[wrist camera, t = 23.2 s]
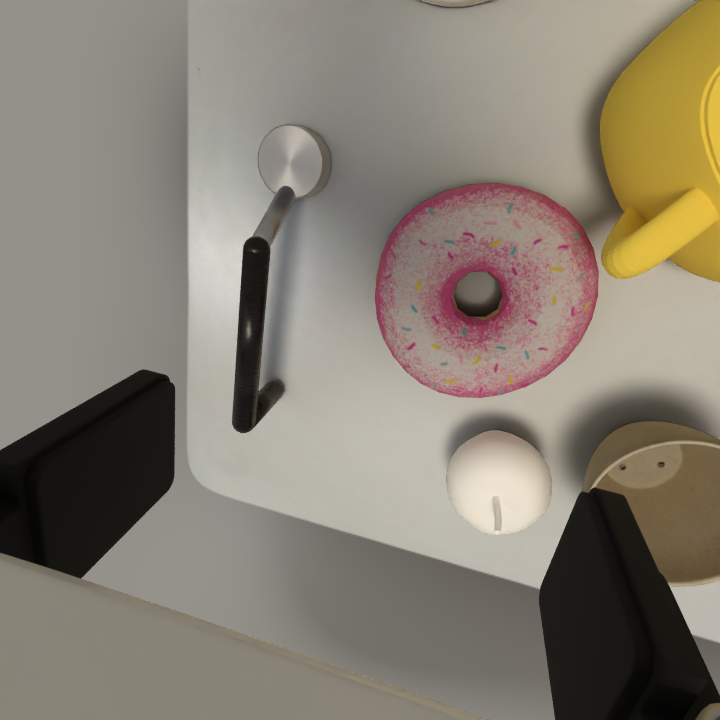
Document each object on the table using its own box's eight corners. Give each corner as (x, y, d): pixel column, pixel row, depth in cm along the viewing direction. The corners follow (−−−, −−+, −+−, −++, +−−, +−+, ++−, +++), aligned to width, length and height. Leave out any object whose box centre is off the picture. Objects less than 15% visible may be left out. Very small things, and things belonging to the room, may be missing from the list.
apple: (440, 480, 39) (431, 551, 31) (461, 402, 36) (456, 460, 29) (529, 504, 37) (540, 583, 30) (557, 426, 35) (578, 492, 27)
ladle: (272, 122, 32) (222, 109, 26) (335, 133, 31) (300, 122, 25) (251, 389, 40) (208, 428, 33) (301, 402, 39) (267, 445, 33)
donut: (572, 153, 29) (590, 149, 24) (600, 360, 32) (620, 390, 28) (360, 214, 33) (341, 220, 28) (407, 392, 36) (396, 422, 32)
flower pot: (692, 525, 35) (741, 605, 28) (549, 495, 37) (564, 564, 30) (746, 403, 31) (816, 463, 25) (584, 376, 33) (610, 426, 27)
